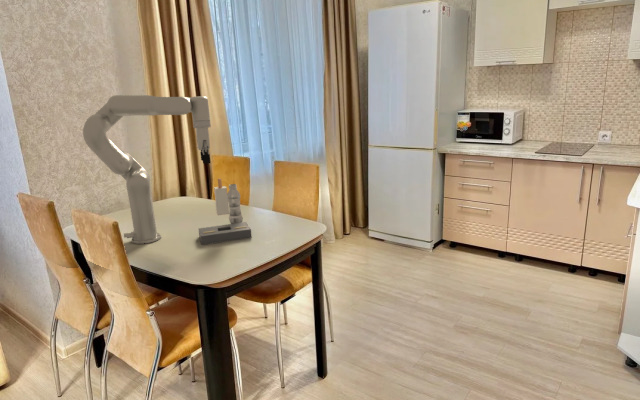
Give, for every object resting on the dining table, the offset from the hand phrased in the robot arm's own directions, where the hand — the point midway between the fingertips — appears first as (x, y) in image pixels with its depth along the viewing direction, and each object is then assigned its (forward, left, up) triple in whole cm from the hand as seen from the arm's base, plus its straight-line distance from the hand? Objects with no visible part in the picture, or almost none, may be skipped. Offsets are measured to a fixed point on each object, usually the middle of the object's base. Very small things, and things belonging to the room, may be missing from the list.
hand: (205, 161), depth 204 cm
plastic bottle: (+12, +5, -34) cm, 36 cm away
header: (+4, -13, -33) cm, 36 cm away
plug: (+4, -13, -22) cm, 26 cm away
